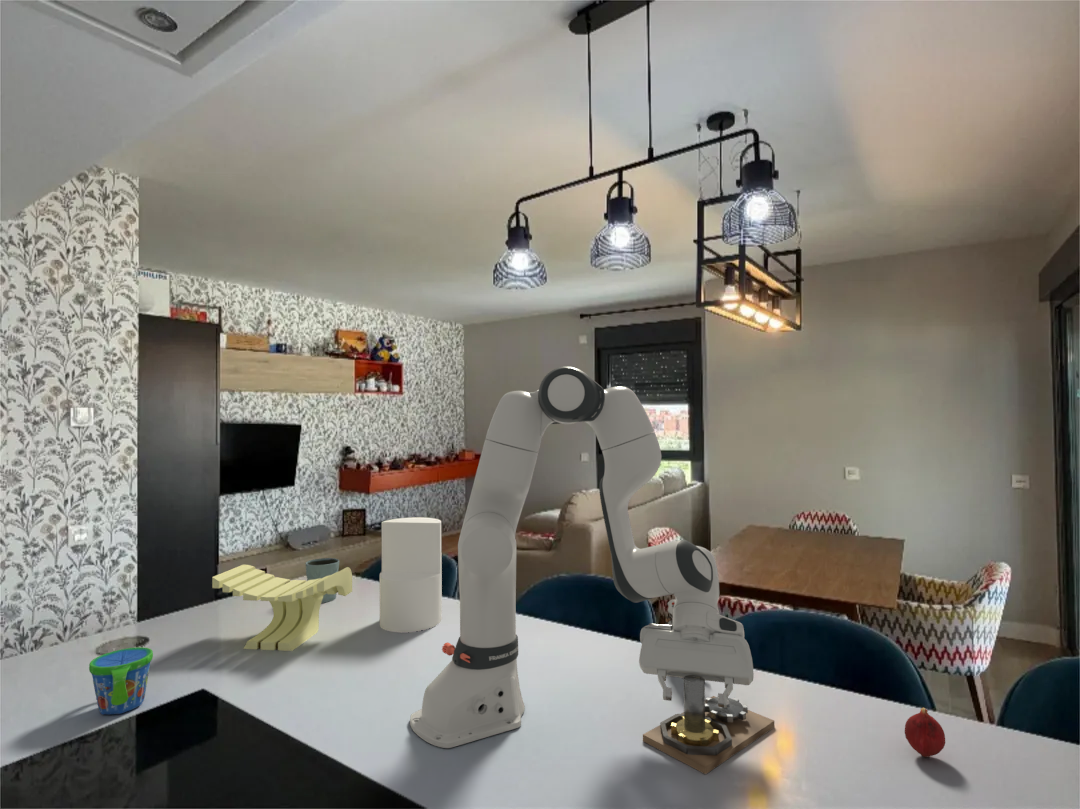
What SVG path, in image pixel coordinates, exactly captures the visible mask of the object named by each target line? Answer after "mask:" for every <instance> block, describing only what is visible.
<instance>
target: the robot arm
mask: <svg viewBox="0 0 1080 809" xmlns="http://www.w3.org/2000/svg"><path fill="white" fill-rule="evenodd" d="M579 422H580V423H581V422H583V423H585V424H587V425H589V427H590V428H591V429H592V430H593V432H594V434H595V436H596V439H597V442H598V443H599V448H600V450H601V453H602V455H603V461H604V474H603V476H602V478H601V479H600V481H599V484H598V485H599V486H598V490H599V500H600V505H601V511H602V516H603V521H604V525H605V531H606V535H607V540H608V545H609V551H610V556H611V570H612V572H611V573H612V579H613V584H614V586H615V589H616V590H617V591H618V592H619V593H620V594H621V595H622V596H623V597H624V598H625V599H627V600H629V601H630V602H632V603H636V604H637V603H640V602H644V601H647V600H651V599H655V598H659V597H664V596H670V595H674V597H675V598H674V599H675V604H674V607H673V618H672V620H673V622H672V625H666V624H658V623H657V624H656V623H653V622H652V623H651V622H650V623H648V625H645V626H643V627H642V628H641V630H640V631H639V632H640V633H639V640H640V641H639V642H640V643H641V647H640V652H639V660H638V663H639V667H640V669H641V671H642V672H643V673H644V674H646V675H656V676H657V680H658V683H659V684H660V686H661V689H662V700H664V701H669V702H670V701H671V702H672V699H673V697H672V696H673V690H672V687H669V686H667V684H666V682H667V677H671V678H672V677H673V678H682V679H684V677H685V676H687V675H698V676H701V677H703V678H704V680H705V681H707V682H717V683H724V688H725V689H724V691H723V693H719V692H718V694H717V697H718V707H724V708H727V698H729V696H730V695H731V693H732V692H733V690H734V685H741V686H742V685H743V686H749V685H751V684H753V683H752V682H753V681H754V678H755V677H754V676H755V675H754V674H755V673H754V663H753V657H752V652H751V649H750V645H749V643H748V641H747V639H745V630H744V629H745V628H744V625H743V623H741V622H740V621H738V620H734V619H732V618H729V617H727V616H724V615H721V614H720V610H719V607H718V601H719V598H720V580H719V571H718V565H717V563H716V562H717V561H716V558H715V556H714V554H713V553H712V552H711V551H710V550H709V549H707V548H705V547H703V546H701V545H696V544H694V543H693V542H690V541H689V540H686V539H681V540H680V539H679V540H678V539H676V540H674V541H668V542H663V543H661V544H657V545H652V546H648V547H643V548H639V547H638V546H637V545H636V544H635V539H634V534H633V529H632V525H631V520H630V515H629V503H630V501H631V498H632V497H633V495H634V494H636V493H637V492H638V491H639V490H641V488H642V487H644V486H645V485H646V484H648V483H649V482H650V481H651V480H652V479H653V477H655V475H656V473H657V472H658V470H659V468H660V466H661V461H662V452H661V446H660V443H659V439H658V437H657V436H656V432H655V430H654V427H653V424H652V422H651V420H650V418H649V415H648V414H647V412H646V410H645V408H644V406H643V404H642V403H641V400H640V399H639V398H638V396H637V394H636V393H635V391H633V390H632V389H630V388H629V387H627V386H611V387H608V388H604V387H602V386H601V385H600V384H599V383H598V382H597V381H595V380H594V379H593V378H592V377H591V376H590V375H588V374H587V373H586V372H584V371H583V370H581V369H579V368H576V367H573V366H570V365H569V366H567V365H566V366H559V367H557V368H554V369H552V370H551V371H549V372H548V373H546V375H545V376H544V377H543V379H542V380H541V381H540V384H539V388H538V389H537V390H535V391H531V392H529V391H525V390H511V391H508V392H506V393H505V394H503V396H502V397H501V398H500V399H499V401H498V404H497V405H496V408H495V410H494V413H493V414H492V418H491V420H490V423H489V426H488V428H487V432H486V434H485V438H484V442H483V446H482V449H481V453H480V457H479V461H478V466H477V469H476V472H475V476H474V481H473V485H472V487H471V488H472V489H471V492H470V496H469V500H468V504H467V507H466V511H465V514H464V519H463V522H462V527H461V530H460V533H459V539H458V542H457V560H458V561H457V562H458V590H459V637H458V640H457V642H456V644H455V645H453V644H451V643H450V642H445V643H444V644H443V645H442V646H441V648H442V649H441V650H442V653H444V654H446V655H447V656H449V657H450V656H451V657H452V659H451V661H450V662H449V663H448V664H447V665H446V667H444V668H443V670H442V671H441V672H440V673H438V674H437V676H436V677H435V678H434V679H433V680H432V681H431V682H430V683H429V684H428V685H427V687H426V689H425V690H424V694H423V698H422V704H421V705H422V706H421V708H420V709H418V710H417V711H415V712H413V713H412V714H411V715H410V718H409V726H410V728H411V730H412V731H413V732H414V733H415V734H416V735H417V736H418V737H420V738H421V740H422V741H425V742H427V743H428V744H431V745H432V746H435V747H438V748H444V749H451V748H455V747H459V746H461V745H465V744H468V743H471V742H474V741H479V740H482V739H484V738H488V737H492V736H495V735H498V734H502V733H505V732H508V731H511V730H515V729H518V728H520V727H521V726H522V720H521V718H522V716H523V714H524V713H525V709H526V706H525V702H524V699H523V695H522V691H521V687H520V681H519V680H520V678H519V674H518V673H519V672H518V660H517V659H518V656H519V637H518V635H517V634H516V633H517V620H516V619H517V618H516V617H517V616H516V615H517V614H516V613H517V611H516V604H517V603H516V597H517V596H516V593H517V591H516V589H517V541H516V540H517V539H516V531H517V527H518V524H519V521H520V518H521V514H522V511H523V509H524V505H525V502H526V499H527V496H528V493H529V490H530V487H531V483H532V480H533V477H534V476H533V475H534V471H535V469H536V468H535V467H536V464H537V459H538V456H539V451H540V447H541V444H542V441H543V437H544V434H545V432H546V430H547V429H548V427H549V426H550V425H557V424H558V425H559V424H560V425H561V424H562V425H573V424H576V423H579Z"/></svg>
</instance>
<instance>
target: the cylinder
mask: <svg viewBox="0 0 1080 809" xmlns="http://www.w3.org/2000/svg"><path fill="white" fill-rule="evenodd" d="M442 560H443V559H442V520H441V519H438V518H434V517H425V516H424V517H423V516H421V517H417V516H416V517H415V516H414V517H399V518H393V519H387V520H384V521H381V571H380V573H379V627H380V628H381V629H382V630H384V631H387V632H392V633H400V634H401V633H402V634H404V633H408V632H409V633H416V631H418V632H422V631H421V630H423V631H427V630H430V629H433V628H435V627H437V626H438V625H439V623H440V622H441V623H442V621H441V620H443V615H442V614H443V610H442V609H443V608H442V607H443V605H442V604H443V600H442V598H443V594H442V593H443V592H442V589H443V588H442V587H443V585H442V581H443V580H442V579H443V578H442V574H443V573H442V572H443V571H442V569H443V568H442V564H443V562H442ZM441 623H440V624H441ZM437 624H438V625H437ZM436 625H437V626H436ZM434 626H435V627H434ZM432 627H433V628H432ZM429 628H430V629H429ZM426 629H427V630H426Z"/></svg>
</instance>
